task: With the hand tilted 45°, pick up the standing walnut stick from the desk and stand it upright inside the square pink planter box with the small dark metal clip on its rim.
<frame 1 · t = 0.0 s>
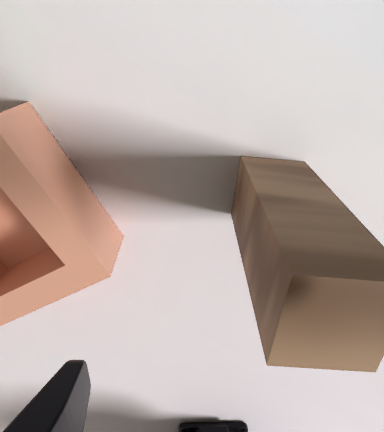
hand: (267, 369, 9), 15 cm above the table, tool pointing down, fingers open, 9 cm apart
walnut stick: (266, 188, 22), on the table
square pink planter box: (17, 208, 23), on the table
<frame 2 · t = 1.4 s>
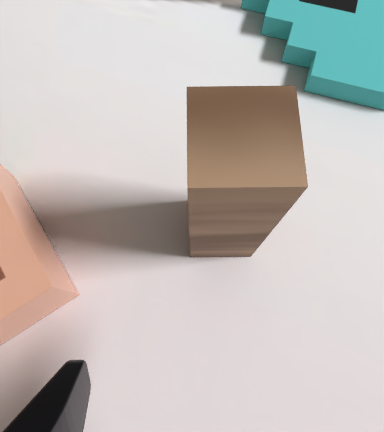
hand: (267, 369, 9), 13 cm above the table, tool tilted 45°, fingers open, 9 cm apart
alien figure: (361, 11, 30), on the table
walnut stick: (219, 227, 24), on the table
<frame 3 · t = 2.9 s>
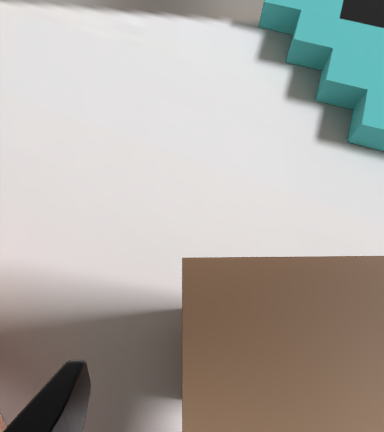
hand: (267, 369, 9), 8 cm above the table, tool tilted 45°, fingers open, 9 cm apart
walnut stick: (232, 352, 16), on the table
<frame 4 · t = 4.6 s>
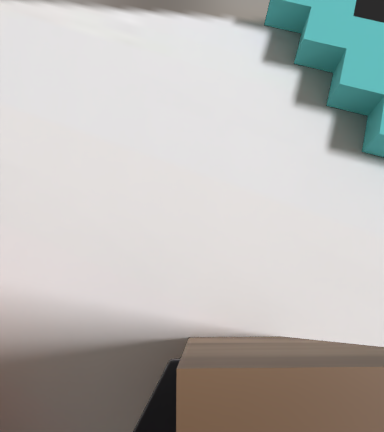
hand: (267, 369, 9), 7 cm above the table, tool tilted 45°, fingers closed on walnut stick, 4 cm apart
walnut stick: (237, 388, 15), on the table, touching gripper
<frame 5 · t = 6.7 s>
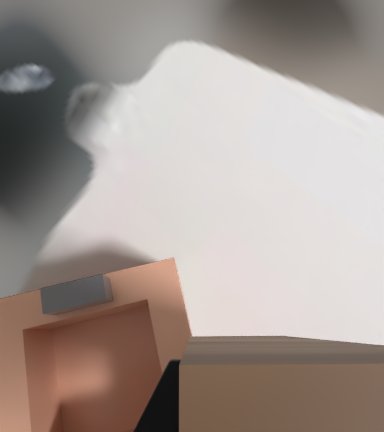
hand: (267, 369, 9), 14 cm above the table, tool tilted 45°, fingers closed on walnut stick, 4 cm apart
walnut stick: (238, 387, 15), point 7 cm above the table, touching gripper
square pink planter box: (114, 370, 21), on the table
when the fingers open (8 cm above the table, at t = 9.2 s): walnut stick drops 1 cm, resting on square pink planter box.
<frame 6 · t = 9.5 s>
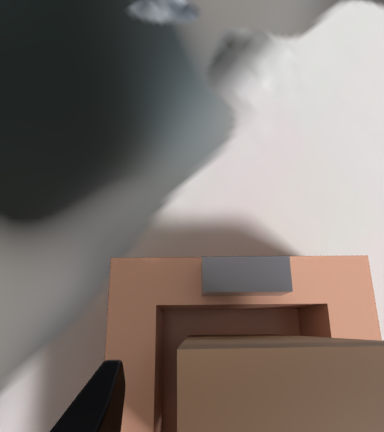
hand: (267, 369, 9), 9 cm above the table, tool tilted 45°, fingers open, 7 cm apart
walnut stick: (232, 381, 16), point 1 cm above the table, touching square pink planter box
square pink planter box: (232, 380, 16), on the table
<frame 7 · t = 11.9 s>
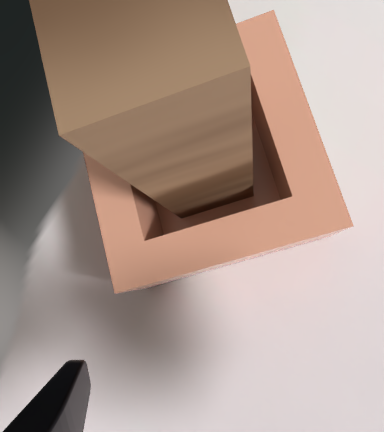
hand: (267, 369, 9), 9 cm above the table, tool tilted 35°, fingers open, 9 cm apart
walnut stick: (206, 172, 19), point 1 cm above the table, touching square pink planter box
square pink planter box: (209, 175, 19), on the table
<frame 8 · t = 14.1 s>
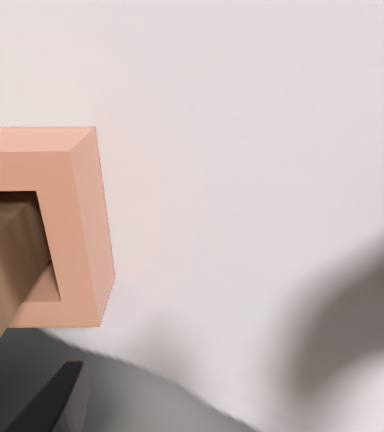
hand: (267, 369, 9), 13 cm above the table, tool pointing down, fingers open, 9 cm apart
walnut stick: (18, 216, 21), point 1 cm above the table, touching square pink planter box
square pink planter box: (23, 210, 21), on the table
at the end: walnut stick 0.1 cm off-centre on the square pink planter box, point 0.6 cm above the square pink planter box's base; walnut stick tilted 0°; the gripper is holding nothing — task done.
